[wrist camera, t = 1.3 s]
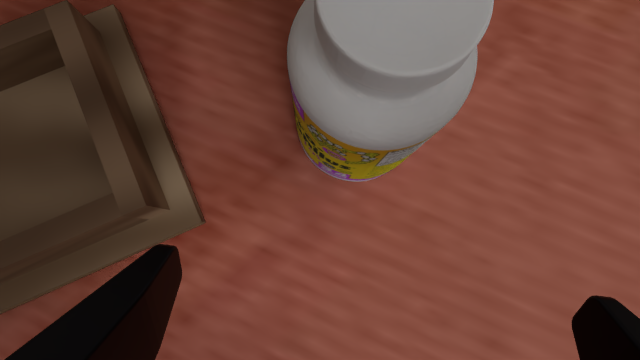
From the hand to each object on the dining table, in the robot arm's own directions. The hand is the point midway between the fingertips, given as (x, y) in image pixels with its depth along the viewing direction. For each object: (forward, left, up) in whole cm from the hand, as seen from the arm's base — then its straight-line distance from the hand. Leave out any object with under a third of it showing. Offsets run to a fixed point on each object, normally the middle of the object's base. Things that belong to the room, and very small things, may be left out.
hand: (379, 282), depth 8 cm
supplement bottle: (+7, +3, -13) cm, 15 cm away
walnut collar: (-4, +17, -13) cm, 22 cm away
